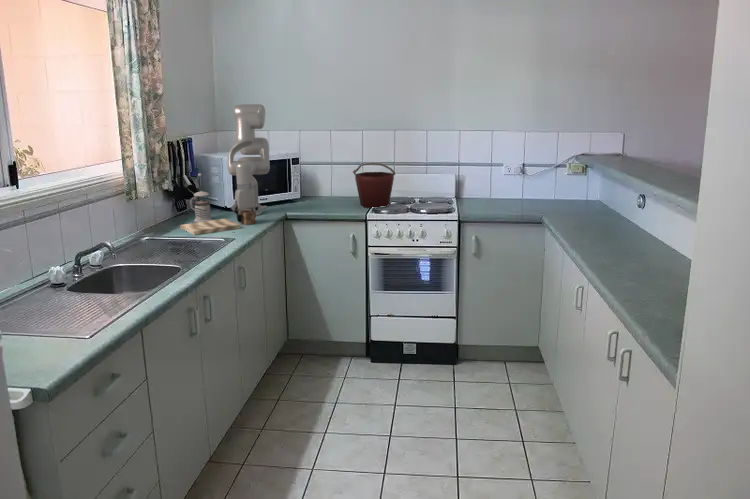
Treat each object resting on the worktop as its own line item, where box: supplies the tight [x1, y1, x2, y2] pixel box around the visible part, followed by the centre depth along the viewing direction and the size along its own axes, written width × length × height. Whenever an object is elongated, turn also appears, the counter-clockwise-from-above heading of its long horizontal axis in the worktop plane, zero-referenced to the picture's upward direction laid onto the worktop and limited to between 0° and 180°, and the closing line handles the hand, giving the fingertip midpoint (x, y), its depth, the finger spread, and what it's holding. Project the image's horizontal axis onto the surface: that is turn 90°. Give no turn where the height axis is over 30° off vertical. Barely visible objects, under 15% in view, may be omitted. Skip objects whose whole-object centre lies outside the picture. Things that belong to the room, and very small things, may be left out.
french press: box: [189, 173, 214, 223], centre depth 331 cm, size 10×12×25 cm
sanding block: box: [238, 209, 256, 226], centre depth 324 cm, size 5×9×6 cm, turn 37°
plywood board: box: [179, 218, 241, 236], centre depth 313 cm, size 24×18×2 cm
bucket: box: [352, 162, 396, 209], centre depth 366 cm, size 24×22×25 cm
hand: (246, 220), depth 324 cm, fingers open, 7 cm apart
